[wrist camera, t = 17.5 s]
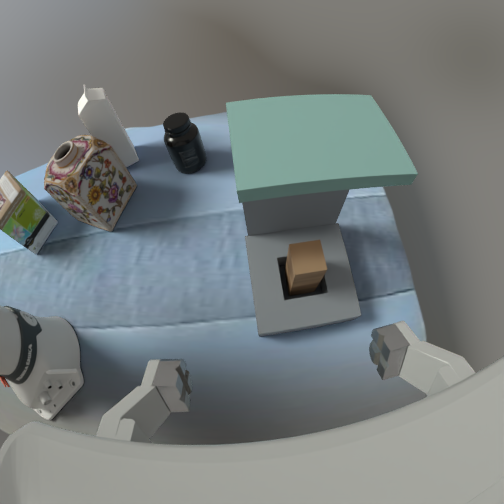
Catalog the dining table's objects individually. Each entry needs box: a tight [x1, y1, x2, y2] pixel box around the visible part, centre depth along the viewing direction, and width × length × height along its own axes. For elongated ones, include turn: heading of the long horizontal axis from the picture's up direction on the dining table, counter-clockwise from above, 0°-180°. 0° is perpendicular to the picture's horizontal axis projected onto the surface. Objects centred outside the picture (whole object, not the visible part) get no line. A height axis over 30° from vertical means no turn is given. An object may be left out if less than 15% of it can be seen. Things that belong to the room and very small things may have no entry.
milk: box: [78, 85, 139, 168], centre depth 47 cm, size 6×6×22 cm
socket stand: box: [226, 94, 418, 337], centre depth 31 cm, size 17×15×28 cm
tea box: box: [0, 171, 58, 255], centre depth 46 cm, size 15×10×15 cm, turn 58°
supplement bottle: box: [163, 113, 206, 174], centre depth 49 cm, size 7×7×12 cm
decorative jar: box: [44, 135, 137, 232], centre depth 44 cm, size 12×12×18 cm
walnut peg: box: [285, 240, 327, 296], centre depth 38 cm, size 4×4×11 cm
